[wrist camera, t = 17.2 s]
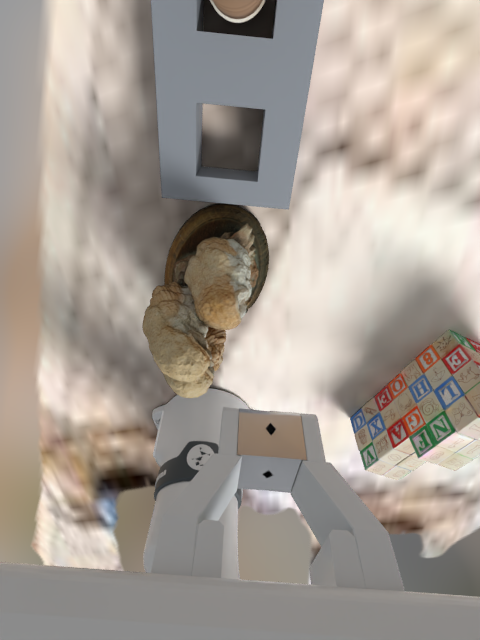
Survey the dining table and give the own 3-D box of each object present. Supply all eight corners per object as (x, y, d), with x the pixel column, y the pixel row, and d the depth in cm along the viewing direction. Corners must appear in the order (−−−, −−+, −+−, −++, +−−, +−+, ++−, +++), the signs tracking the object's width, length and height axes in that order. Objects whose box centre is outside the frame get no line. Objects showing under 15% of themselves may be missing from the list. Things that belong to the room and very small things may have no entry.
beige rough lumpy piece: (240, 340, 47) (233, 450, 33) (157, 318, 45) (113, 425, 32) (287, 219, 36) (305, 308, 23) (181, 186, 35) (131, 260, 21)
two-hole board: (285, 197, 35) (288, 209, 32) (170, 186, 35) (161, 197, 32) (332, -99, 23) (345, -126, 20) (158, -118, 23) (142, -150, 20)
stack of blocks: (378, 428, 57) (404, 502, 48) (348, 417, 56) (369, 491, 46) (482, 344, 46) (545, 418, 36) (448, 327, 44) (504, 400, 34)
